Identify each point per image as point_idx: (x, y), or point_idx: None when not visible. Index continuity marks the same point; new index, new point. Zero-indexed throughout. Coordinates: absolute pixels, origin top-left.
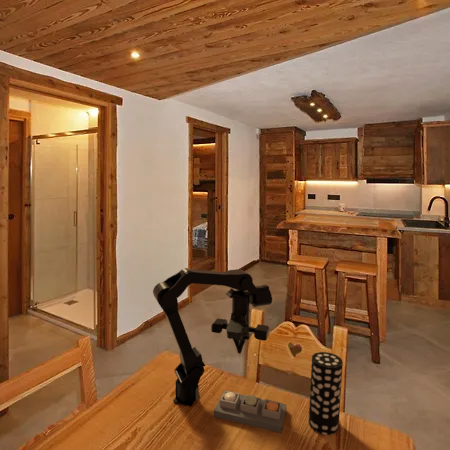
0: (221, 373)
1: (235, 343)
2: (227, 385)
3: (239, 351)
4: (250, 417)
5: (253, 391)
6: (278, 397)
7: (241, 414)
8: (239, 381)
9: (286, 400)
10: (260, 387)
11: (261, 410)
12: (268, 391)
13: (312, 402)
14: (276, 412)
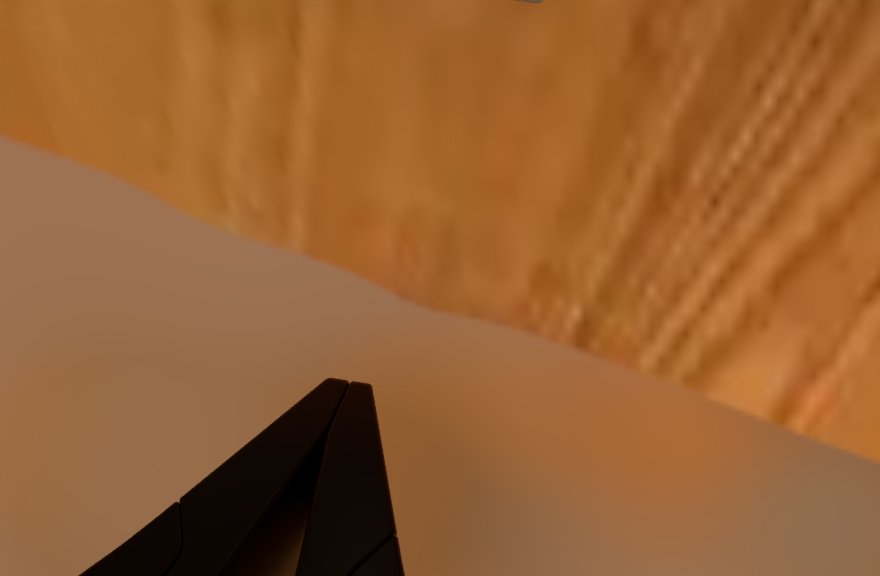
0: (585, 331)
1: (378, 572)
2: (522, 187)
3: (333, 405)
4: None
5: (294, 146)
6: (83, 105)
7: None
8: (431, 256)
9: (11, 77)
10: (256, 209)
11: None
12: (182, 170)
13: None
14: None
